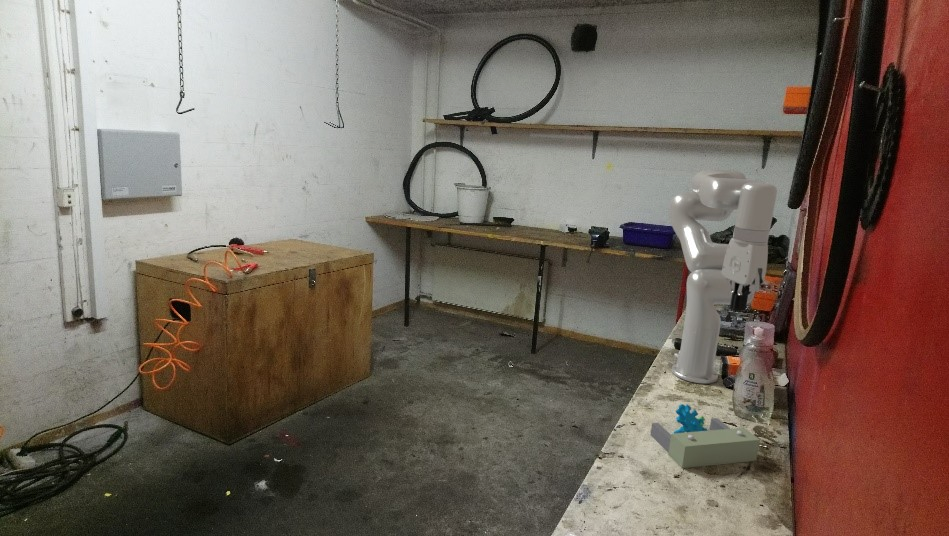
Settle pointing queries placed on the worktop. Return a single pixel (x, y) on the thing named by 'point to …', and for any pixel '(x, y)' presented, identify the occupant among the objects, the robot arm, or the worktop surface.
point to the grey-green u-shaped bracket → (708, 445)
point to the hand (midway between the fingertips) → (737, 309)
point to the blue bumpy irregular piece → (689, 420)
